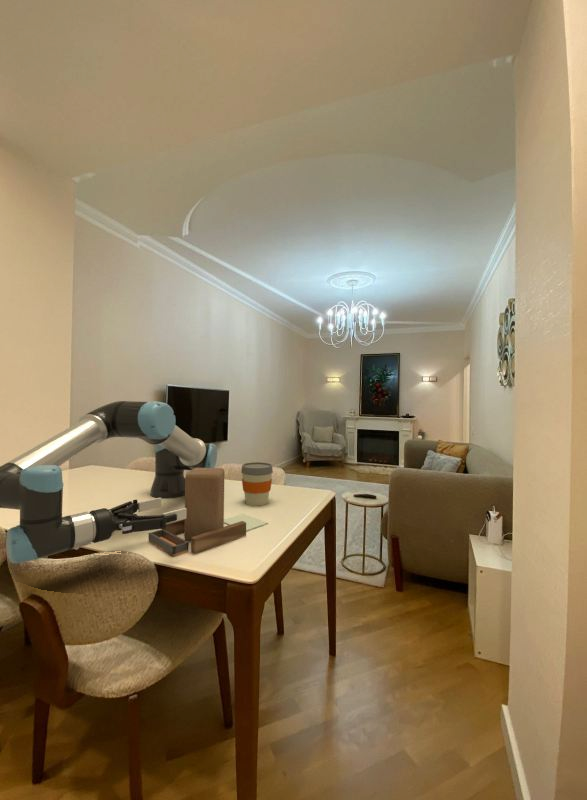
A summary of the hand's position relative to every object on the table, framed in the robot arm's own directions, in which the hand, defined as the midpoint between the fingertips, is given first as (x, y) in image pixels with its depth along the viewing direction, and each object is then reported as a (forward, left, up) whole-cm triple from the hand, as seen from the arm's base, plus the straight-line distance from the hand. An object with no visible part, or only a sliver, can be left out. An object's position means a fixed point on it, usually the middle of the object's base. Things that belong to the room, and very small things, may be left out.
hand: (172, 507), depth 100 cm
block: (0, +11, -11) cm, 16 cm away
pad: (0, +26, -11) cm, 28 cm away
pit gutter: (-1, -1, -11) cm, 11 cm away
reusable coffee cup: (-14, +45, -11) cm, 48 cm away
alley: (0, +11, -11) cm, 15 cm away
